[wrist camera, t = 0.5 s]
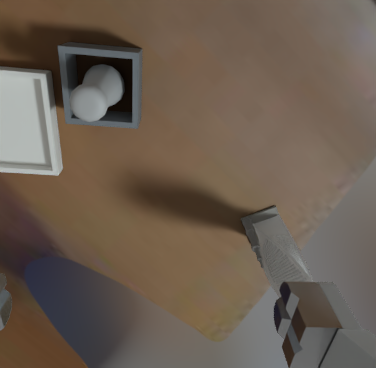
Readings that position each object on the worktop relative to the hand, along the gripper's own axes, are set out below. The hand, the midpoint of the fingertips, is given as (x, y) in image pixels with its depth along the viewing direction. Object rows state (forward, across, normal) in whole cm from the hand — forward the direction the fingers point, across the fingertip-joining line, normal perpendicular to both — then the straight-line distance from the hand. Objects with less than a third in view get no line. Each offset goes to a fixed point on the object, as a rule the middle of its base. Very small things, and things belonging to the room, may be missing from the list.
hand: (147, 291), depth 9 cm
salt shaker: (+42, +9, +3) cm, 43 cm away
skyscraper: (+42, -21, +28) cm, 55 cm away
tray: (+42, +25, +10) cm, 50 cm away
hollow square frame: (+42, +9, +3) cm, 43 cm away
